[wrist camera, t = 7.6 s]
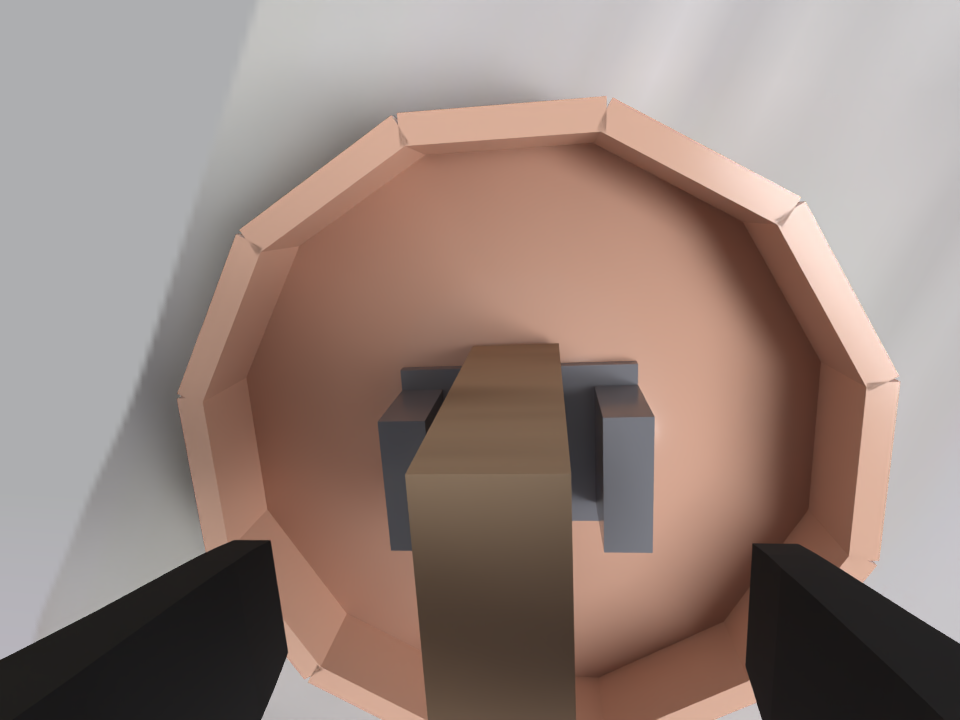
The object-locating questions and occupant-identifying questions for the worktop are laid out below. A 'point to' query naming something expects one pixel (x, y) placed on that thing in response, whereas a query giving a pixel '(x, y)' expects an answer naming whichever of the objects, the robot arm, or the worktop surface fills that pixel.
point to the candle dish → (586, 386)
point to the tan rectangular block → (496, 541)
